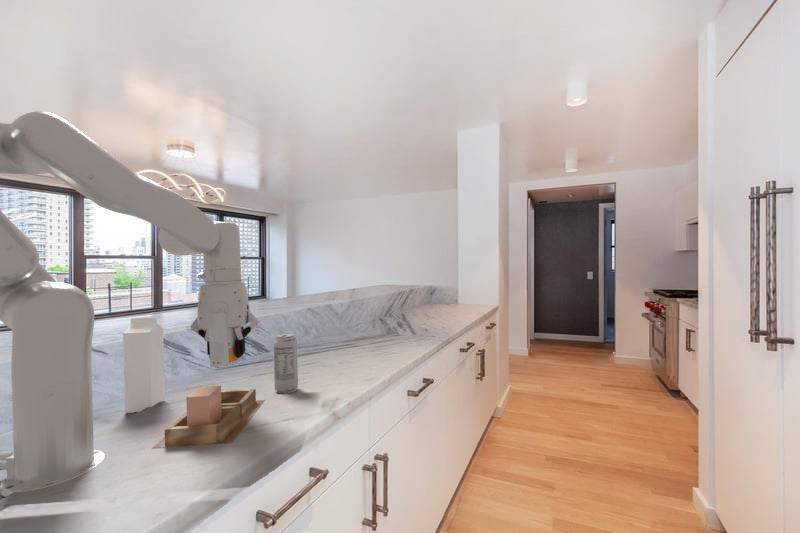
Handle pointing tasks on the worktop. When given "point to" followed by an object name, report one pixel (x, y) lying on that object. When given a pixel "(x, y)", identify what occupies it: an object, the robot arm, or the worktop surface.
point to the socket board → (234, 418)
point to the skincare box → (222, 342)
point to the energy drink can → (285, 363)
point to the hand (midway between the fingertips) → (226, 356)
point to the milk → (143, 364)
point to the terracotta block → (204, 406)
